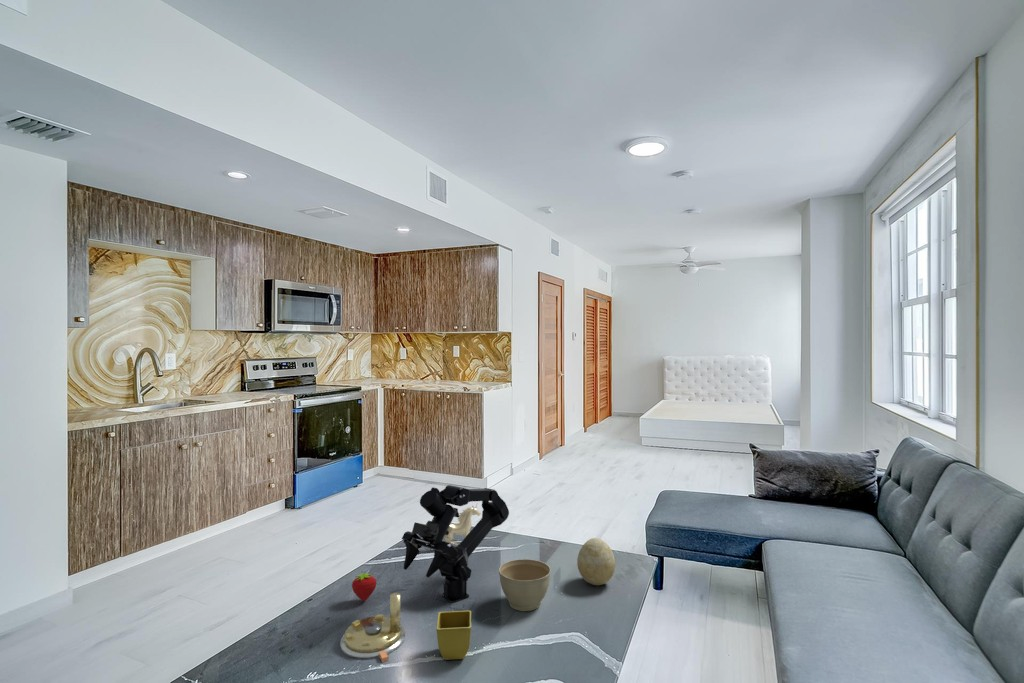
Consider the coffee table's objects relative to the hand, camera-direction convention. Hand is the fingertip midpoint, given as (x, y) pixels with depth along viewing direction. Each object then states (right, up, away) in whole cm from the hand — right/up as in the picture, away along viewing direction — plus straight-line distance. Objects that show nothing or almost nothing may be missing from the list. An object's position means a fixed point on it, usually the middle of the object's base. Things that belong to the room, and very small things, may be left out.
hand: (415, 573), depth 148 cm
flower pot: (+13, -14, -17) cm, 25 cm away
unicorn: (+6, -15, +54) cm, 57 cm away
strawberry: (-18, -14, +11) cm, 26 cm away
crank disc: (-10, -14, -10) cm, 20 cm away
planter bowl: (+32, -14, +9) cm, 36 cm away
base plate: (-10, -14, -10) cm, 20 cm away
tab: (-5, -13, -18) cm, 23 cm away
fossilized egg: (+57, -14, +23) cm, 63 cm away
